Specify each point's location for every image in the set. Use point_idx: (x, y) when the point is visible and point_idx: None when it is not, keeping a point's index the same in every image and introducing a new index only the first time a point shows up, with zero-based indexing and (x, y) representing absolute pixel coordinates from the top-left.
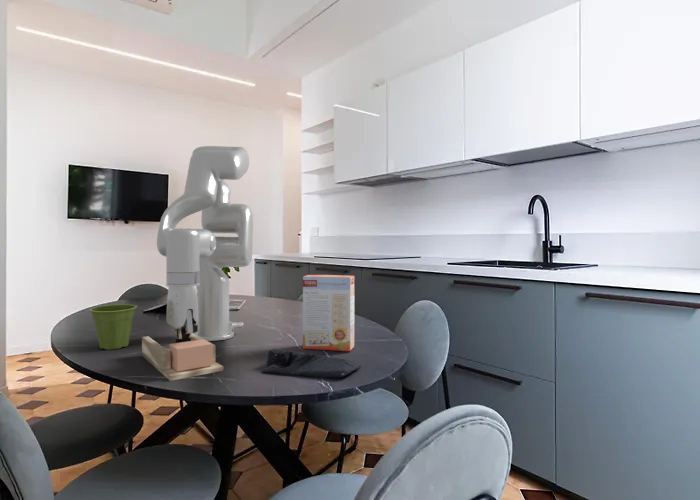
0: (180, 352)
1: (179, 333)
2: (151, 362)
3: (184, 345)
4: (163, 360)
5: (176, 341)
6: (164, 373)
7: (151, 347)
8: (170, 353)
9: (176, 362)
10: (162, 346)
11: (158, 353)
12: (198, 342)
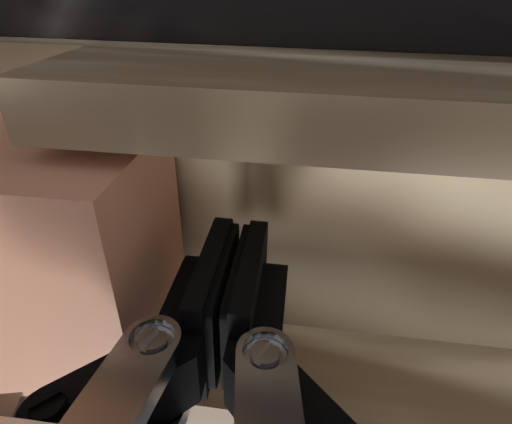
0: None
1: (112, 375)
2: (454, 57)
3: None
4: (38, 61)
5: (232, 295)
6: (70, 42)
7: (508, 92)
8: (106, 158)
9: None
10: (298, 165)
11: (198, 75)
12: (49, 375)
